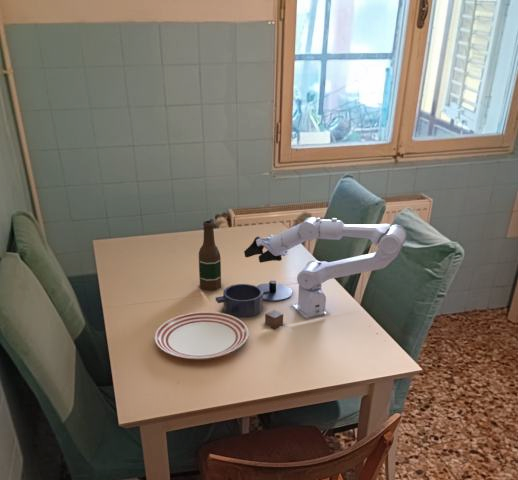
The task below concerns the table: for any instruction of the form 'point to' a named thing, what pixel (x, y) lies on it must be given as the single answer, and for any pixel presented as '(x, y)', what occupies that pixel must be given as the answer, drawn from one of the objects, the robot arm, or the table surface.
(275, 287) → the lid
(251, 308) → the pot
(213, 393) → the table surface
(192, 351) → the dinner plate
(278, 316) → the block
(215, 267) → the beer bottle
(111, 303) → the table surface
